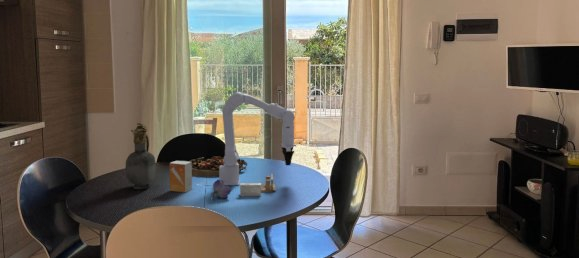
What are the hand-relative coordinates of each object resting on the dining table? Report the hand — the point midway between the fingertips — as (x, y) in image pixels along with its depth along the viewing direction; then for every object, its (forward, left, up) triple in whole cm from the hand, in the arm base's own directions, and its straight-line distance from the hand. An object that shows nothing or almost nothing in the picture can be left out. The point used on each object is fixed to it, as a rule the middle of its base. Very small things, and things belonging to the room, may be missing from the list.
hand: (287, 163), depth 233 cm
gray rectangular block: (-17, -19, -10) cm, 27 cm away
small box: (-49, -11, -10) cm, 51 cm away
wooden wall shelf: (-12, -9, -10) cm, 18 cm away
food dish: (-38, +31, -11) cm, 50 cm away
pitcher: (-68, -4, -10) cm, 69 cm away
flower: (-30, -24, -10) cm, 40 cm away
